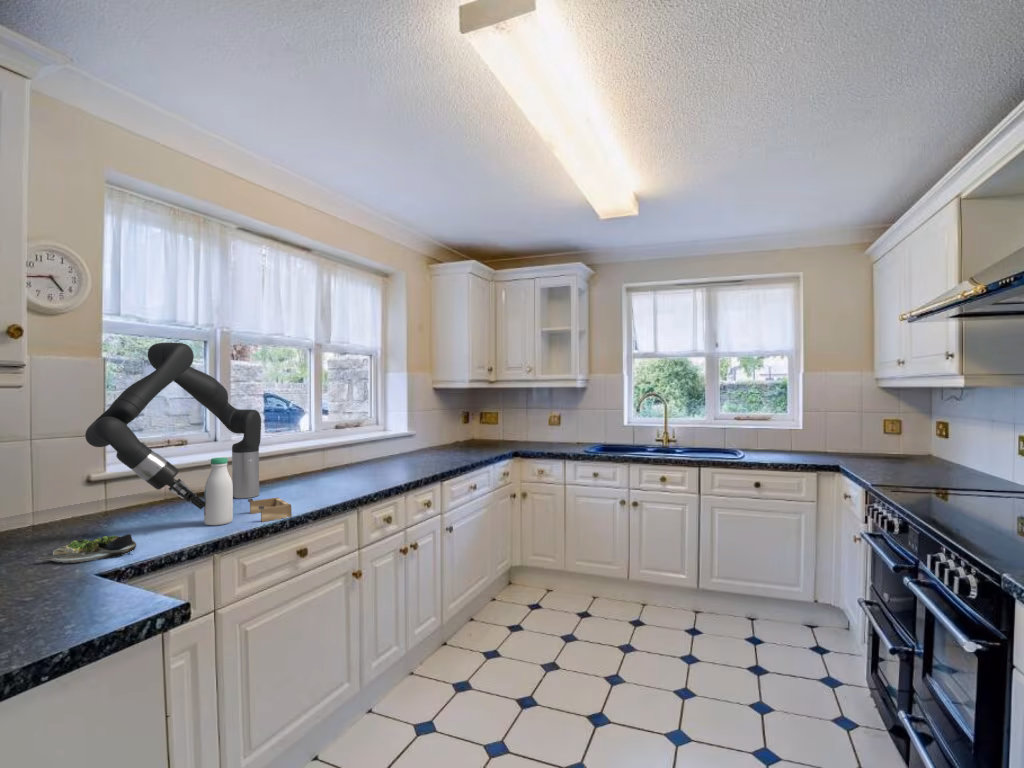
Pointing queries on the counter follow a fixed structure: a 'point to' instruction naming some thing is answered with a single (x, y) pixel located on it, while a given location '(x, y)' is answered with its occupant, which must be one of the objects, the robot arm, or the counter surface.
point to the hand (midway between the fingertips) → (203, 506)
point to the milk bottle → (218, 494)
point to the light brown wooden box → (270, 508)
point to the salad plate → (92, 549)
